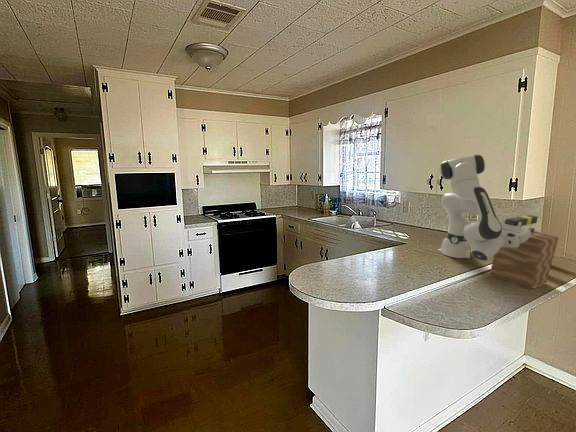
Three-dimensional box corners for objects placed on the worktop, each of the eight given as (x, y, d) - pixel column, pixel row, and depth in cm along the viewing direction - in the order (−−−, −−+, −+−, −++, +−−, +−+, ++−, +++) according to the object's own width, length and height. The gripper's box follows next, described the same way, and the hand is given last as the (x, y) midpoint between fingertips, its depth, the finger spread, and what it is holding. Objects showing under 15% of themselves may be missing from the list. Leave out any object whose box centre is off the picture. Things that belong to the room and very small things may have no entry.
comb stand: (530, 289, 162) (543, 238, 155) (489, 274, 179) (500, 226, 172) (545, 284, 169) (559, 234, 162) (505, 269, 186) (516, 223, 179)
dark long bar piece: (529, 221, 173) (530, 215, 172) (536, 223, 170) (538, 216, 169) (504, 225, 162) (505, 219, 161) (511, 227, 159) (513, 220, 158)
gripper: (478, 235, 168) (494, 221, 172) (521, 248, 151) (537, 231, 155) (477, 226, 165) (493, 211, 169) (520, 238, 148) (537, 221, 152)
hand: (514, 221), depth 162 cm, fingers closed on dark long bar piece, 3 cm apart
